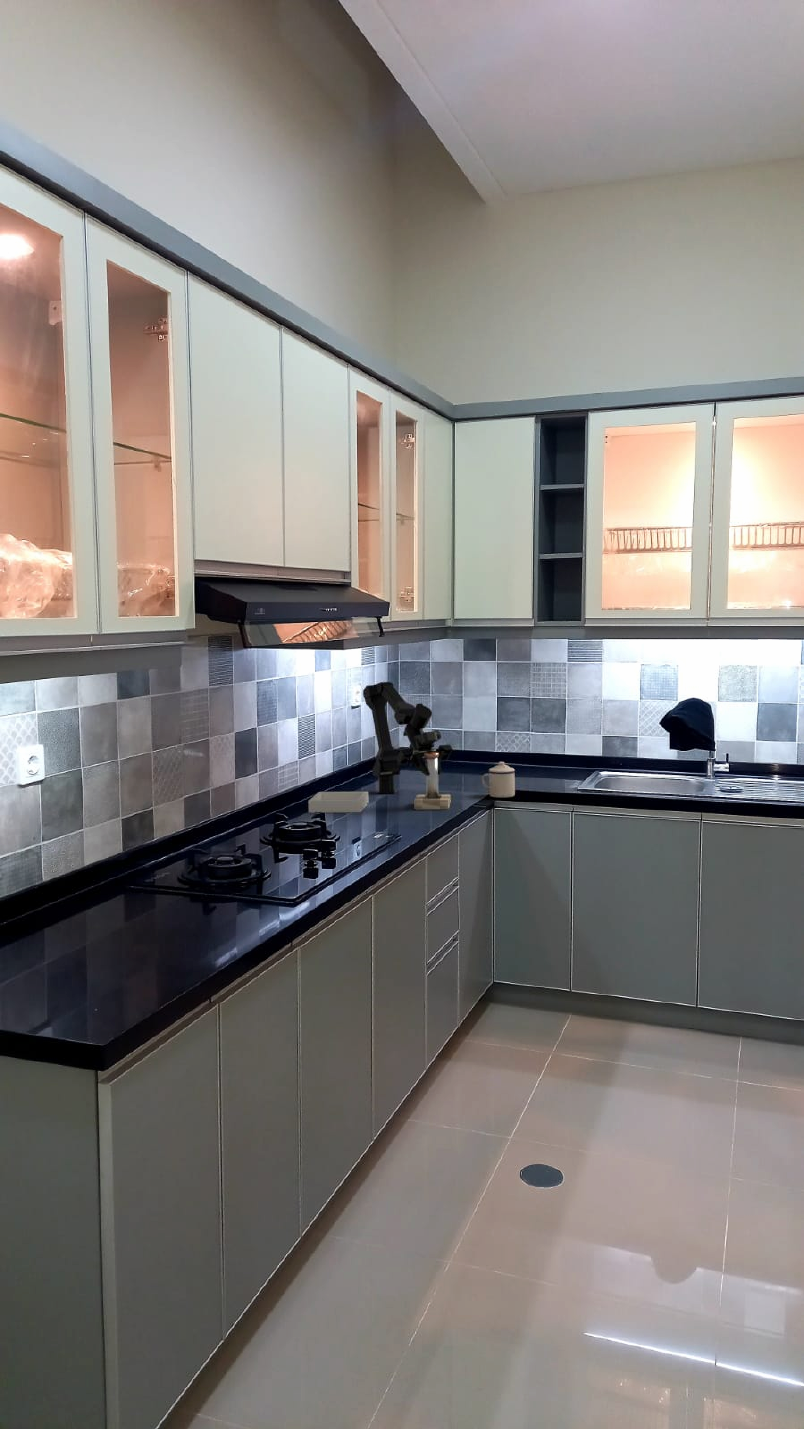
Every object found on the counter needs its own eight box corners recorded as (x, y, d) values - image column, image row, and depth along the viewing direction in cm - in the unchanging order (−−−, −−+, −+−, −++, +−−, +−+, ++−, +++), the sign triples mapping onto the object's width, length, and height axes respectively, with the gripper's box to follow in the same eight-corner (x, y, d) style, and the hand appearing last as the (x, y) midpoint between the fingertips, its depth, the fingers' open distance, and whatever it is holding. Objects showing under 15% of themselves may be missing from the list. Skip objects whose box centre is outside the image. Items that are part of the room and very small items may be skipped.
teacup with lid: (519, 794, 352) (519, 760, 351) (509, 798, 344) (508, 764, 343) (488, 792, 358) (487, 759, 357) (477, 796, 350) (476, 762, 349)
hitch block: (417, 803, 340) (417, 794, 339) (450, 803, 338) (450, 794, 338) (414, 809, 329) (414, 800, 329) (448, 809, 328) (448, 800, 327)
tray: (319, 803, 346) (318, 792, 345) (368, 802, 344) (368, 791, 343) (308, 812, 329) (308, 801, 329) (360, 812, 327) (360, 800, 327)
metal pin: (425, 797, 336) (424, 752, 335) (440, 797, 336) (439, 752, 334) (424, 799, 331) (423, 754, 330) (439, 799, 331) (438, 754, 329)
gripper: (399, 724, 330) (416, 761, 322) (449, 720, 339) (467, 756, 330) (389, 745, 338) (405, 783, 329) (438, 741, 347) (455, 777, 338)
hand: (434, 774), depth 331 cm, fingers closed on metal pin, 4 cm apart
